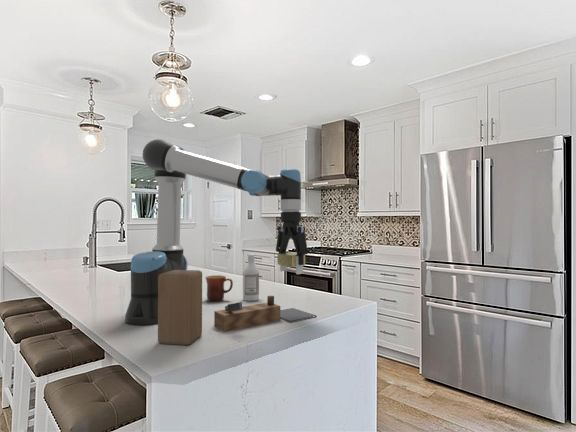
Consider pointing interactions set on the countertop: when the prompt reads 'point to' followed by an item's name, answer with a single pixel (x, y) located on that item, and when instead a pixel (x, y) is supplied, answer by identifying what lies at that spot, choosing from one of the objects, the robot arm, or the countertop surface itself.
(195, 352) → the countertop surface
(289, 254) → the pale yellow block
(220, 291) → the mug
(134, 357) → the countertop surface
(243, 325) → the plane body
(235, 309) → the lever
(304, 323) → the countertop surface
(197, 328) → the block
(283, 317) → the mat
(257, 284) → the bath foam
